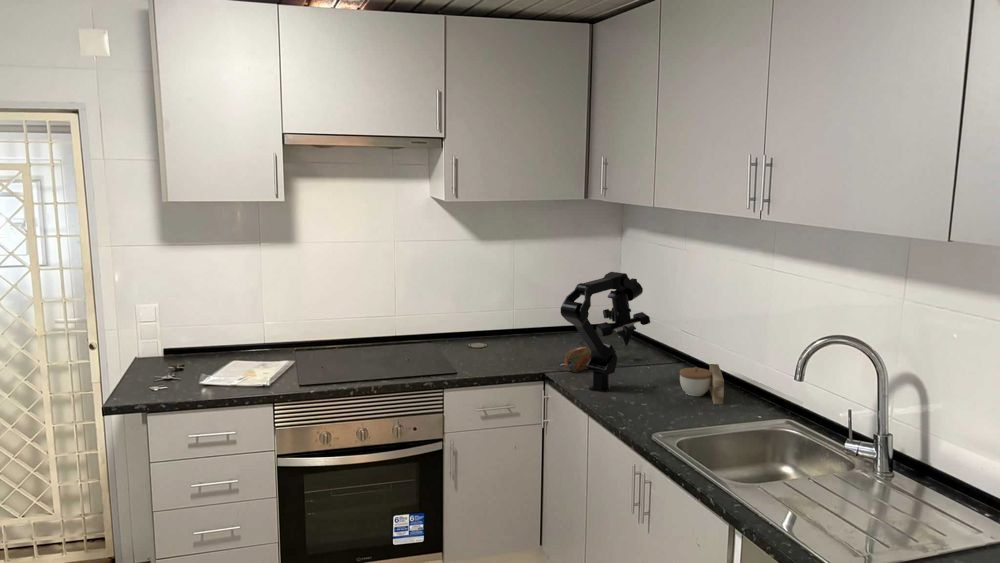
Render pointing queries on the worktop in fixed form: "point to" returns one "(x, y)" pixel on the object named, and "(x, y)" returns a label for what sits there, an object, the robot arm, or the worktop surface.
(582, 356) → the tin
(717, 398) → the birch board
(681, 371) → the lidded jar
